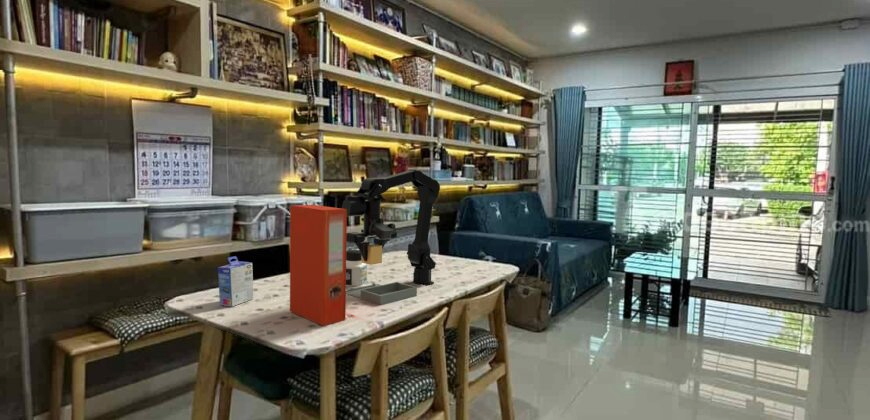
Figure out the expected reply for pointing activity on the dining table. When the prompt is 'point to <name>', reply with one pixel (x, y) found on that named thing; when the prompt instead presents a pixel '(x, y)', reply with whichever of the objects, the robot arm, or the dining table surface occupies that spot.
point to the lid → (359, 289)
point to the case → (388, 293)
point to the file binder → (318, 263)
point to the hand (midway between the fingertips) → (371, 260)
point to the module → (373, 254)
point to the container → (355, 269)
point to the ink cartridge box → (235, 282)
